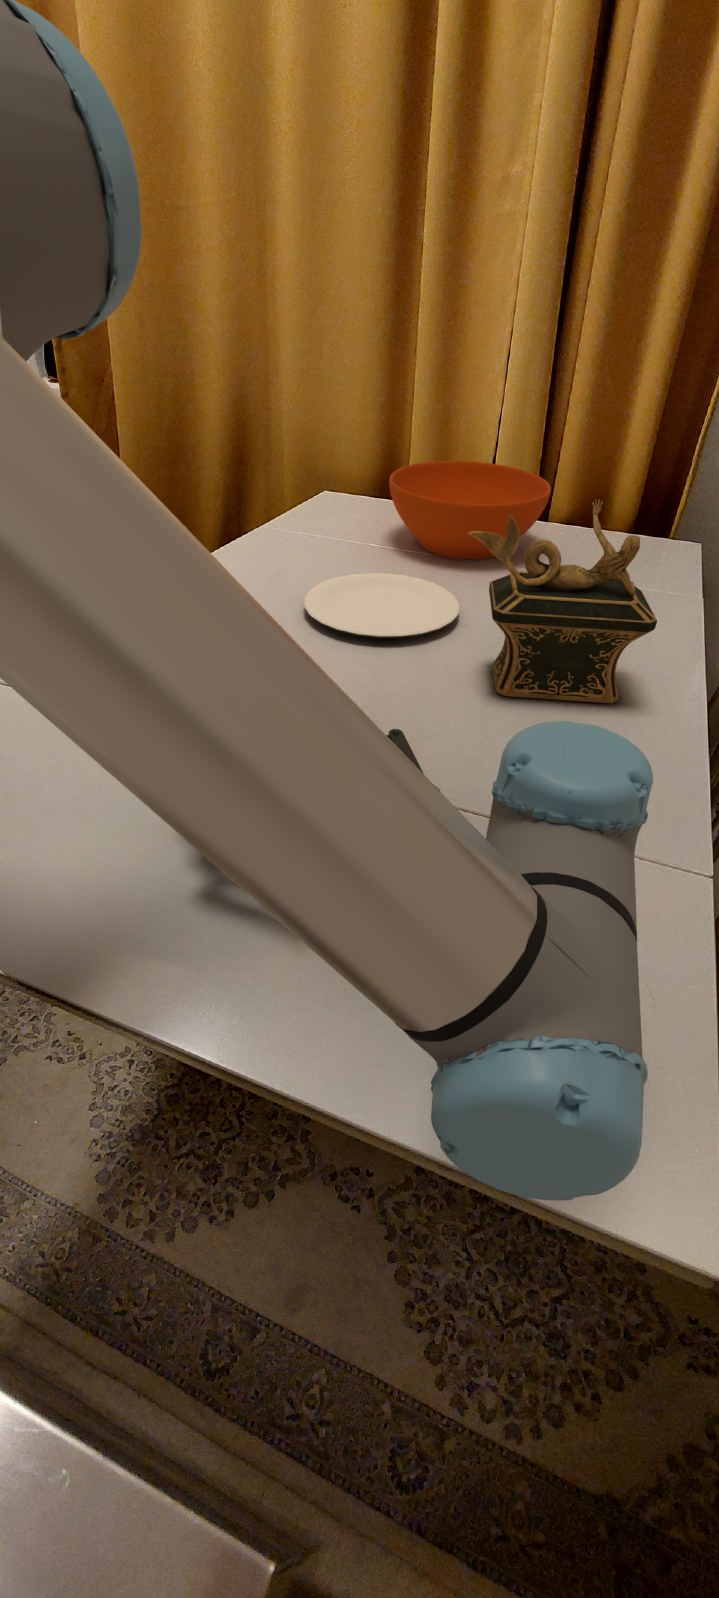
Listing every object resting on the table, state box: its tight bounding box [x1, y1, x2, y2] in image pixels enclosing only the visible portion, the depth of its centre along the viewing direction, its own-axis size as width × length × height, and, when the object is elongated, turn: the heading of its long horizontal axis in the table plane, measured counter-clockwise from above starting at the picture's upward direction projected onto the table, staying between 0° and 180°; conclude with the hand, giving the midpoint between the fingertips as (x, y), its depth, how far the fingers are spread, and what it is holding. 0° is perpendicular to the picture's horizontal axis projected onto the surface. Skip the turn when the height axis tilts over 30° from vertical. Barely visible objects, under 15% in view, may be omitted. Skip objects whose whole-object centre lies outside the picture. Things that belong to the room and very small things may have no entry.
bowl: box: [388, 460, 552, 560], centre depth 122 cm, size 25×25×10 cm
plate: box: [303, 572, 461, 639], centre depth 101 cm, size 21×21×2 cm
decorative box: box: [468, 498, 658, 704], centre depth 82 cm, size 20×10×20 cm, turn 85°
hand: (251, 740), depth 65 cm, fingers open, 13 cm apart
